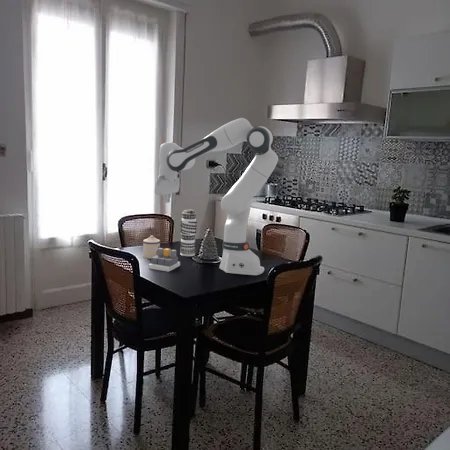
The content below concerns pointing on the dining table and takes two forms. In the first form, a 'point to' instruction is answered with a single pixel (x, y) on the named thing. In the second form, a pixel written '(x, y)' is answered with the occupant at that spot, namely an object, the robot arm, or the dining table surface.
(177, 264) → the slab with raised knobs
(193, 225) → the decorative candle
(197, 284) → the dining table surface
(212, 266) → the dining table surface
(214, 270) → the dining table surface
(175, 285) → the dining table surface
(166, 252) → the breaker handle
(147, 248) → the teacup with lid
